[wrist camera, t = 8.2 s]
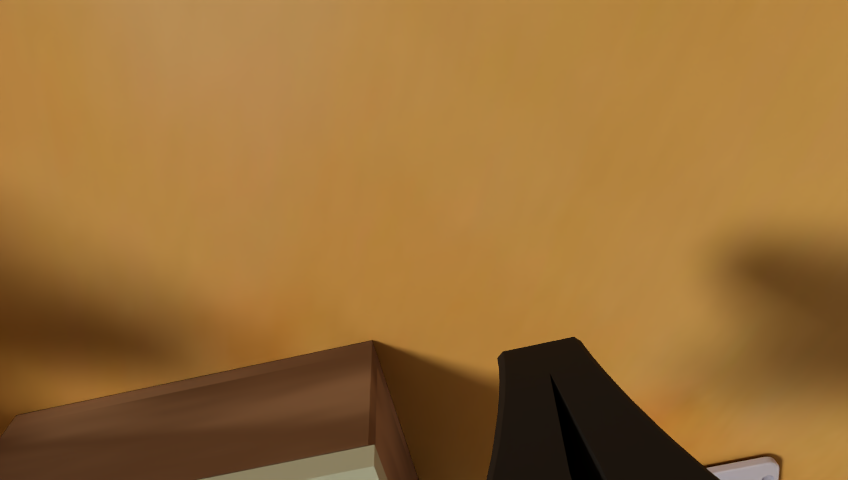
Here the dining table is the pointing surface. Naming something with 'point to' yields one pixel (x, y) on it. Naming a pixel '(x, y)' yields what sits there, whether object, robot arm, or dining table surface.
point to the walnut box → (216, 424)
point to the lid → (319, 468)
